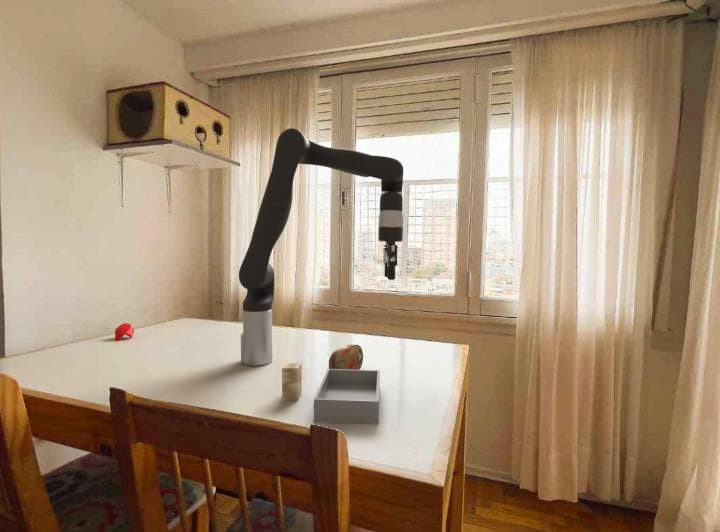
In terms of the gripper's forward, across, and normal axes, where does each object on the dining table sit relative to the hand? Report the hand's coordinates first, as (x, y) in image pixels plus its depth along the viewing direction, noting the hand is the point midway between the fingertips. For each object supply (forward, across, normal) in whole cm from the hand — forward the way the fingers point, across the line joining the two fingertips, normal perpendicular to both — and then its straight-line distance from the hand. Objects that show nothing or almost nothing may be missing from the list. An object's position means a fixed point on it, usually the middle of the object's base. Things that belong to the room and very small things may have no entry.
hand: (389, 278), depth 117 cm
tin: (+28, +7, -13) cm, 32 cm away
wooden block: (+28, +23, -27) cm, 45 cm away
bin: (+28, +27, -12) cm, 41 cm away
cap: (+30, -38, -103) cm, 114 cm away
